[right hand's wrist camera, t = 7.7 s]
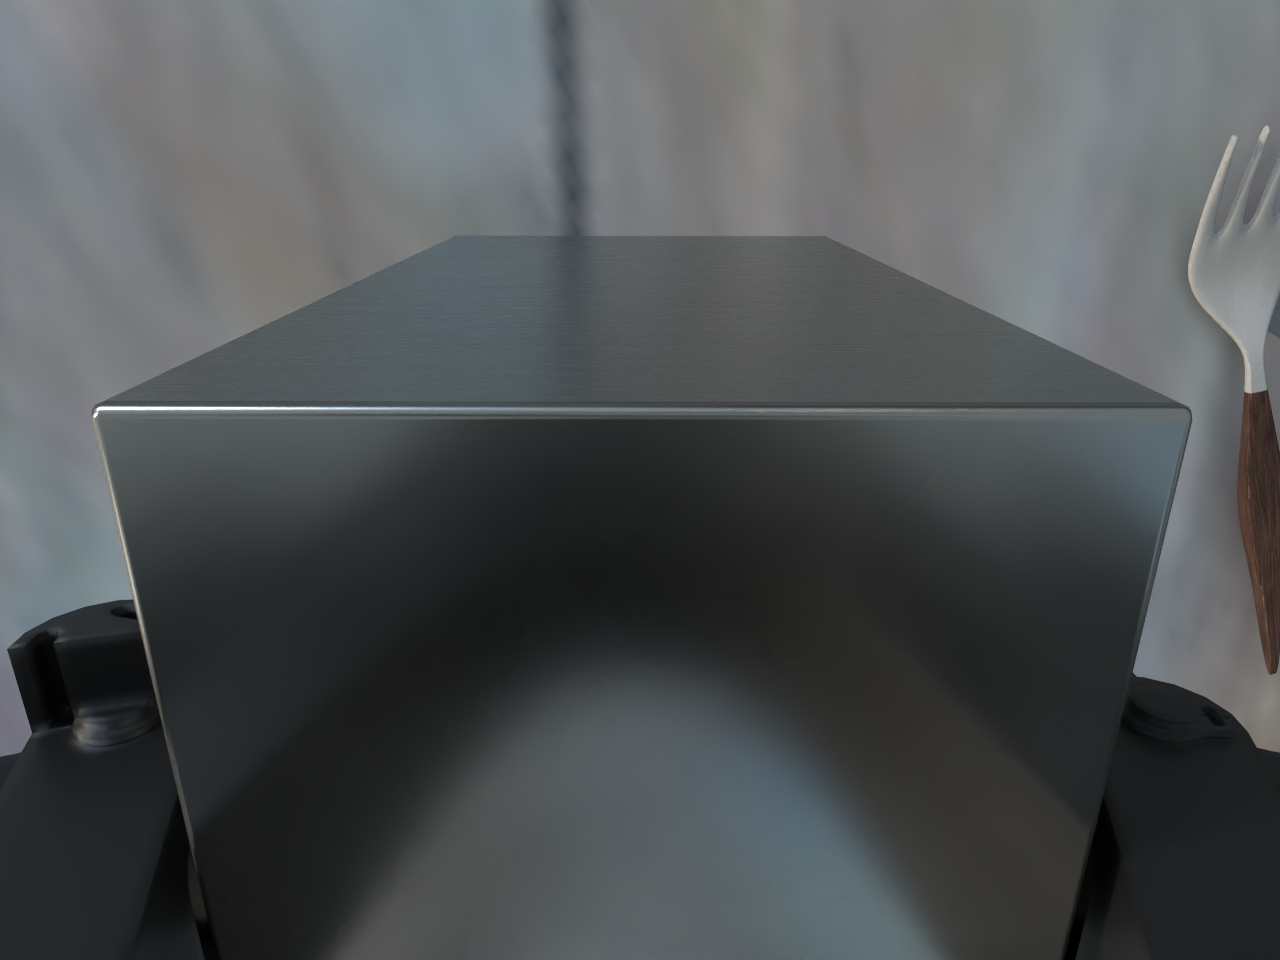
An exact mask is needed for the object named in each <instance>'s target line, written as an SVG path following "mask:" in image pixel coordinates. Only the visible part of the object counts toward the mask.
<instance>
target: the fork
mask: <svg viewBox="0 0 1280 960" xmlns="http://www.w3.org/2000/svg"><path fill="white" fill-rule="evenodd" d="M1269 133H1270V128H1269V126H1265V127H1264V129H1263V131H1262V133H1261V135H1260V137H1259V139H1258V141H1257V144H1256V146H1255V149H1254V151H1253V153H1252V156H1251V158H1250V160H1249V163H1248V165H1247V168H1246V170H1245V173H1244V175H1243V178H1242V180H1241V183H1240V185H1239V188H1238V190H1237V193H1236V195H1235V198H1234V201H1233V204H1232V206H1231V209H1230V212H1229V215H1228V217H1227V219H1226V222H1225V224H1224V226H1223V227H1222V229H1221V230H1220V231H1219V232H1217V233H1215V232H1214V222H1215V217H1216V213H1217V209H1218V205H1219V201H1220V197H1221V193H1222V190H1223V186H1224V182H1225V179H1226V175H1227V172H1228V168H1229V165H1230V162H1231V159H1232V155H1233V152H1234V150H1235V147H1236V144H1237V142H1238V136H1236V135H1233V136H1232V137H1231V139H1230V141H1229V144H1228V146H1227V149H1226V151H1225V154H1224V156H1223V159H1222V161H1221V164H1220V167H1219V169H1218V172H1217V174H1216V177H1215V180H1214V182H1213V185H1212V188H1211V190H1210V193H1209V196H1208V198H1207V201H1206V204H1205V207H1204V210H1203V213H1202V216H1201V220H1200V223H1199V226H1198V229H1197V233H1196V236H1195V239H1194V243H1193V246H1192V250H1191V254H1190V258H1189V265H1188V277H1189V282H1190V286H1191V289H1192V291H1193V293H1194V295H1195V297H1196V299H1197V300H1198V302H1199V303H1200V304H1201V306H1202V307H1203V308H1204V309H1205V310H1206V311H1207V313H1208V314H1209V315H1210V316H1211V317H1212V318H1213V319H1214V320H1215V321H1216V322H1217V323H1218V324H1219V325H1220V326H1221V327H1222V328H1223V329H1224V330H1225V331H1226V332H1227V333H1228V334H1229V335H1230V336H1231V337H1232V338H1233V339H1234V341H1235V342H1236V343H1237V345H1238V346H1239V348H1240V349H1241V352H1242V354H1243V357H1244V363H1245V390H1244V404H1243V417H1242V430H1241V442H1240V455H1239V471H1238V511H1239V520H1240V526H1241V532H1242V538H1243V543H1244V547H1245V552H1246V557H1247V562H1248V566H1249V571H1250V576H1251V581H1252V587H1253V592H1254V599H1255V605H1256V611H1257V618H1258V624H1259V631H1260V637H1261V642H1262V648H1263V653H1264V658H1265V662H1266V666H1267V670H1268V672H1269V674H1270V675H1271V674H1275V673H1276V672H1277V668H1278V662H1279V653H1280V452H1279V446H1278V441H1277V436H1276V431H1275V426H1274V421H1273V416H1272V411H1271V406H1270V400H1269V395H1268V389H1267V384H1266V377H1265V370H1264V344H1265V339H1266V335H1267V331H1268V327H1269V324H1270V321H1271V318H1272V314H1273V311H1274V309H1275V306H1276V303H1277V300H1278V297H1279V294H1280V213H1279V214H1278V215H1273V208H1274V203H1275V199H1276V196H1277V192H1278V189H1279V186H1280V154H1279V157H1278V159H1277V161H1276V164H1275V166H1274V168H1273V170H1272V173H1271V175H1270V178H1269V180H1268V182H1267V185H1266V187H1265V190H1264V192H1263V195H1262V197H1261V200H1260V203H1259V205H1258V208H1257V210H1256V212H1255V214H1254V216H1253V218H1252V219H1251V221H1250V222H1249V223H1247V224H1244V222H1243V218H1244V212H1245V207H1246V204H1247V200H1248V197H1249V193H1250V190H1251V187H1252V183H1253V180H1254V177H1255V173H1256V170H1257V167H1258V164H1259V161H1260V158H1261V155H1262V152H1263V149H1264V146H1265V143H1266V140H1267V138H1268V135H1269Z"/></svg>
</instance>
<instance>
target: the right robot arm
mask: <svg viewBox="0 0 1280 960" xmlns="http://www.w3.org/2000/svg"><path fill="white" fill-rule="evenodd" d="M7 650H8V653H9V657H10V660H11V663H12V667H13V670H14V674H15V677H16V680H17V684H18V687H19V690H20V694H21V697H22V700H23V704H24V707H25V710H26V714H27V717H28V720H29V724H30V727H31V730H32V735H31V737H30V738H29V740H28V742H27V744H26V745H25V747H24V749H23V751H22V752H21V753H17V754H13V755H8V756H3V757H0V960H217V959H216V954H215V950H214V946H213V941H212V937H211V933H210V928H209V924H208V920H207V915H206V911H205V907H204V903H203V898H202V894H201V890H200V885H199V881H198V877H197V872H196V868H195V864H194V859H193V855H192V851H191V846H190V842H189V838H188V833H187V829H186V825H185V821H184V816H183V812H182V808H181V803H180V799H179V795H178V790H177V786H176V782H175V777H174V773H173V769H172V764H171V760H170V756H169V751H168V747H167V743H166V738H165V734H164V730H163V726H162V721H161V717H160V713H159V708H158V704H157V700H156V695H155V691H154V687H153V682H152V678H151V674H150V669H149V665H148V661H147V656H146V652H145V648H144V643H143V639H142V635H141V631H140V626H139V622H138V618H137V613H136V609H135V605H134V600H118V601H112V602H107V603H102V604H97V605H92V606H87V607H83V608H80V609H78V610H75V611H72V612H69V613H66V614H63V615H60V616H57V617H54V618H52V619H50V620H48V621H46V622H44V623H43V624H41V625H39V626H37V627H35V628H33V629H31V630H29V631H28V632H26V633H24V634H23V635H22V636H21V637H20V638H19V639H18V640H17V641H16V642H15V643H13V644H12V645H11V646H10V647H9V648H8V649H7ZM1064 960H1280V753H1279V752H1273V751H1268V750H1264V749H1260V748H1257V747H1256V746H1255V744H1254V742H1253V740H1252V739H1251V737H1250V735H1249V733H1248V732H1247V731H1246V730H1245V728H1244V727H1243V726H1242V725H1241V724H1240V723H1239V722H1238V721H1237V719H1236V718H1235V717H1234V716H1233V715H1232V714H1231V713H1229V712H1228V711H1226V710H1225V709H1223V708H1222V707H1220V706H1218V705H1217V704H1215V703H1214V702H1212V701H1211V700H1209V699H1208V698H1206V697H1204V696H1201V695H1199V694H1196V693H1194V692H1191V691H1189V690H1187V689H1184V688H1182V687H1179V686H1177V685H1174V684H1170V683H1165V682H1161V681H1157V680H1152V679H1148V678H1144V677H1136V676H1135V675H1134V674H1133V672H1132V676H1131V681H1130V685H1129V689H1128V693H1127V697H1126V702H1125V706H1124V710H1123V714H1122V719H1121V723H1120V727H1119V731H1118V735H1117V740H1116V744H1115V748H1114V752H1113V757H1112V761H1111V765H1110V769H1109V773H1108V778H1107V782H1106V786H1105V790H1104V795H1103V799H1102V803H1101V807H1100V811H1099V816H1098V820H1097V824H1096V828H1095V833H1094V837H1093V841H1092V845H1091V849H1090V854H1089V858H1088V862H1087V866H1086V871H1085V875H1084V879H1083V883H1082V887H1081V892H1080V896H1079V900H1078V904H1077V909H1076V913H1075V917H1074V921H1073V926H1072V930H1071V934H1070V938H1069V942H1068V947H1067V951H1066V955H1065V959H1064Z"/></svg>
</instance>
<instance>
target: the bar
mask: <svg viewBox="0 0 1280 960" xmlns="http://www.w3.org/2000/svg"><path fill="white" fill-rule="evenodd" d="M91 419H92V423H93V428H94V432H95V436H96V441H97V445H98V449H99V453H100V458H101V462H102V466H103V471H104V475H105V479H106V484H107V488H108V492H109V497H110V501H111V505H112V510H113V514H114V518H115V523H116V527H117V531H118V536H119V540H120V544H121V548H122V553H123V557H124V561H125V566H126V570H127V574H128V579H129V583H130V587H131V592H132V596H133V600H134V605H135V609H136V613H137V618H138V622H139V626H140V631H141V635H142V639H143V643H144V648H145V652H146V656H147V661H148V665H149V669H150V674H151V678H152V682H153V687H154V691H155V695H156V700H157V704H158V708H159V713H160V717H161V721H162V726H163V730H164V734H165V738H166V743H167V747H168V751H169V756H170V760H171V764H172V769H173V773H174V777H175V782H176V786H177V790H178V795H179V799H180V803H181V808H182V812H183V816H184V821H185V825H186V829H187V833H188V838H189V842H190V846H191V851H192V855H193V859H194V864H195V868H196V872H197V877H198V881H199V885H200V890H201V894H202V898H203V903H204V907H205V911H206V915H207V920H208V924H209V928H210V933H211V937H212V941H213V946H214V950H215V954H216V959H217V960H1064V959H1065V955H1066V951H1067V947H1068V942H1069V938H1070V934H1071V930H1072V926H1073V921H1074V917H1075V913H1076V909H1077V904H1078V900H1079V896H1080V892H1081V887H1082V883H1083V879H1084V875H1085V871H1086V866H1087V862H1088V858H1089V854H1090V849H1091V845H1092V841H1093V837H1094V833H1095V828H1096V824H1097V820H1098V816H1099V811H1100V807H1101V803H1102V799H1103V795H1104V790H1105V786H1106V782H1107V778H1108V773H1109V769H1110V765H1111V761H1112V757H1113V752H1114V748H1115V744H1116V740H1117V735H1118V731H1119V727H1120V723H1121V719H1122V714H1123V710H1124V706H1125V702H1126V697H1127V693H1128V689H1129V685H1130V681H1131V676H1132V672H1133V668H1134V664H1135V659H1136V655H1137V651H1138V647H1139V643H1140V638H1141V634H1142V630H1143V626H1144V621H1145V617H1146V613H1147V609H1148V605H1149V600H1150V596H1151V592H1152V588H1153V583H1154V579H1155V575H1156V571H1157V567H1158V562H1159V558H1160V554H1161V550H1162V545H1163V541H1164V537H1165V533H1166V529H1167V524H1168V520H1169V516H1170V512H1171V507H1172V503H1173V499H1174V495H1175V491H1176V486H1177V482H1178V478H1179V474H1180V469H1181V465H1182V461H1183V457H1184V453H1185V448H1186V444H1187V440H1188V436H1189V431H1190V427H1191V423H1192V414H1191V410H1190V409H1189V407H1188V406H1185V405H1183V404H1181V403H1179V402H1177V401H1175V400H1173V399H1170V398H1168V397H1166V396H1164V395H1162V394H1160V393H1158V392H1156V391H1153V390H1151V389H1149V388H1147V387H1145V386H1143V385H1141V384H1139V383H1136V382H1134V381H1132V380H1130V379H1128V378H1126V377H1124V376H1122V375H1119V374H1117V373H1115V372H1113V371H1111V370H1109V369H1107V368H1105V367H1102V366H1100V365H1098V364H1096V363H1094V362H1092V361H1090V360H1088V359H1085V358H1083V357H1081V356H1079V355H1077V354H1075V353H1073V352H1071V351H1068V350H1066V349H1064V348H1062V347H1060V346H1058V345H1056V344H1053V343H1051V342H1049V341H1047V340H1045V339H1043V338H1041V337H1039V336H1036V335H1034V334H1032V333H1030V332H1028V331H1026V330H1024V329H1022V328H1019V327H1017V326H1015V325H1013V324H1011V323H1009V322H1007V321H1005V320H1002V319H1000V318H998V317H996V316H994V315H992V314H990V313H988V312H985V311H983V310H981V309H979V308H977V307H975V306H973V305H971V304H968V303H966V302H964V301H962V300H960V299H958V298H956V297H954V296H951V295H949V294H947V293H945V292H943V291H941V290H939V289H937V288H934V287H932V286H930V285H928V284H926V283H924V282H922V281H919V280H917V279H915V278H913V277H911V276H909V275H907V274H905V273H902V272H900V271H898V270H896V269H894V268H892V267H890V266H888V265H885V264H883V263H881V262H879V261H877V260H875V259H873V258H871V257H868V256H866V255H864V254H862V253H860V252H858V251H856V250H854V249H851V248H849V247H847V246H845V245H843V244H841V243H839V242H837V241H834V240H832V239H830V238H828V237H826V236H454V237H452V238H450V239H448V240H445V241H443V242H441V243H439V244H437V245H435V246H433V247H431V248H428V249H426V250H424V251H422V252H420V253H418V254H416V255H413V256H411V257H409V258H407V259H405V260H403V261H401V262H399V263H396V264H394V265H392V266H390V267H388V268H386V269H384V270H382V271H379V272H377V273H375V274H373V275H371V276H369V277H367V278H365V279H362V280H360V281H358V282H356V283H354V284H352V285H350V286H348V287H345V288H343V289H341V290H339V291H337V292H335V293H333V294H331V295H328V296H326V297H324V298H322V299H320V300H318V301H316V302H314V303H311V304H309V305H307V306H305V307H303V308H301V309H299V310H297V311H294V312H292V313H290V314H288V315H286V316H284V317H282V318H280V319H277V320H275V321H273V322H271V323H269V324H267V325H265V326H262V327H260V328H258V329H256V330H254V331H252V332H250V333H248V334H245V335H243V336H241V337H239V338H237V339H235V340H233V341H231V342H228V343H226V344H224V345H222V346H220V347H218V348H216V349H214V350H211V351H209V352H207V353H205V354H203V355H201V356H199V357H197V358H194V359H192V360H190V361H188V362H186V363H184V364H182V365H180V366H177V367H175V368H173V369H171V370H169V371H167V372H165V373H163V374H160V375H158V376H156V377H154V378H152V379H150V380H148V381H146V382H143V383H141V384H139V385H137V386H135V387H133V388H131V389H129V390H126V391H124V392H122V393H120V394H118V395H116V396H114V397H111V398H109V399H107V400H105V401H103V402H101V403H99V404H97V405H95V406H94V408H93V409H92V417H91Z"/></svg>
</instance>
